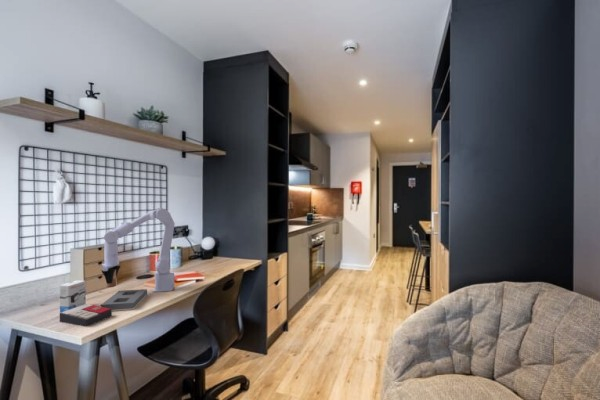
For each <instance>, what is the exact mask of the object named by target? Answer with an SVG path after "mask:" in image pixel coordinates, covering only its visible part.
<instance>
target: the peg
mask: <svg viewBox="0 0 600 400" xmlns="http://www.w3.org/2000/svg"><path fill="white" fill-rule="evenodd" d="M116 286H117V278H116V270H115V272H114V275H113V281H112V283H110V284H107V283H106V288H113V287H114V288H115V287H116Z"/></svg>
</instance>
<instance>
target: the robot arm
mask: <svg viewBox="0 0 600 400" xmlns="http://www.w3.org/2000/svg"><path fill="white" fill-rule="evenodd" d="M156 219H157V220H158V221H159V222H161V224H162V225H163V226H164V228H163V234H162V239H161V244H160V245H161V246H160V251H159V256H158V257H157V258H158V259H157V261H156V262H155V264H154V266H155V269H156V271H155V272H154V289H153V290H152V293H156V292H157V293H158V292H160V293H161V292H172V291H173V289H174V288H175V287H174V286H175V273H174V272H170V269H171V265H170V252H171V247H172V241H173V236H174V230H175V226H176V225H175V221H174V219H173V217H172V214H171V212H169V211H168V210H167V209H166V208H162V207H158V208H156V209H154V210H151V211H149V212H146V213H145V214H142V215H141V216H140V217H138V218H135V219H134V220H132V221H131V222H128V221H125V222H124V221H123V222H121V223H120V225H118V226H116V227H112V228H111V230H108V231H107V232H105V234H104V235H103V240H104V246H103V247H104V248H103V249H104V250H103V251H104V252H103V256H104V263H102V264H101V267H102V269H101V273H102V274H103V277H104V279H105V281H106V285H107V284H110V283H112V281H113V275H114V272H115V270H116V279H117V277H118V273H119V270H120V269H121V265H120V260H119V246H118V239H122V238H123V237H125V236H127V235H129V234H131V232H132V233H133V232H134V229H135V227H138V226H141V225H142V224H144V223H145V222H148V221H153V220H154V221H155V220H156Z"/></svg>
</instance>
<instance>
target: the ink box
mask: <svg viewBox="0 0 600 400" xmlns="http://www.w3.org/2000/svg"><path fill="white" fill-rule="evenodd" d="M86 284H87V282H86V280H79V279H78V280H72V281H69V282H66V283H62V284H61V285H59V313H62V312H64V311H67V310H70V309H73V308H76V307H79V306H82V305H84V304H87V303H86V302H87V301H86V300H87V299H86V298H87V297H86V295H87V293H86V292H87V289H86V287H87V285H86Z"/></svg>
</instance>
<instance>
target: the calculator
mask: <svg viewBox="0 0 600 400" xmlns="http://www.w3.org/2000/svg"><path fill="white" fill-rule="evenodd" d="M112 314H113V311H112V310H110V309H109V308H104V307H101V305H100V306H99V305H94V304H93V305H92V304H88V303H86V304H84V305H82V306H79V307H76V308H73V309H70V310H67V311H64V312H59V322H60V323H65V324H72V325H74V326H75V325H76V326H82V327H89V326H91V324H92V325H94V324H96V323H98V322H101V321H103V319H104V320H105V318H106V319H109V318H110V316H111V317H112V316H113V315H112Z"/></svg>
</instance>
